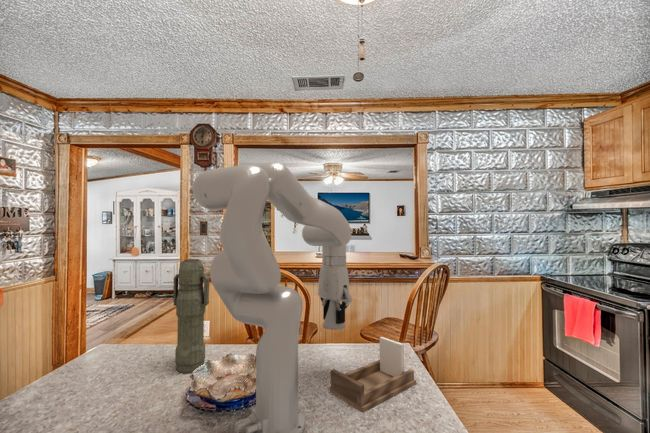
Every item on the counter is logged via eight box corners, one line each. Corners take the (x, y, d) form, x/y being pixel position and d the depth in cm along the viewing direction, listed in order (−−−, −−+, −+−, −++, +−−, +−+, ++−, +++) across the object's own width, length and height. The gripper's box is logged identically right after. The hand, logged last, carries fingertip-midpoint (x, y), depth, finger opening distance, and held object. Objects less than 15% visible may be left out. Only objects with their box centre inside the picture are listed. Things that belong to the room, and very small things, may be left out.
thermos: (203, 374, 97) (204, 261, 99) (165, 374, 97) (167, 261, 99) (213, 362, 106) (214, 258, 107) (179, 362, 106) (180, 258, 108)
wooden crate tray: (363, 412, 76) (363, 387, 76) (329, 391, 86) (328, 369, 86) (416, 383, 90) (416, 362, 90) (381, 368, 100) (381, 349, 100)
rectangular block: (401, 380, 89) (401, 345, 90) (379, 370, 96) (379, 337, 96) (404, 379, 90) (403, 344, 91) (382, 369, 96) (381, 336, 97)
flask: (344, 331, 92) (344, 297, 92) (320, 329, 93) (320, 295, 94) (347, 324, 99) (347, 292, 100) (324, 323, 100) (325, 291, 101)
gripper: (308, 260, 102) (307, 317, 100) (343, 264, 88) (343, 329, 87) (326, 259, 106) (325, 313, 105) (362, 263, 93) (362, 325, 92)
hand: (334, 320), depth 96 cm, fingers closed on flask, 5 cm apart
